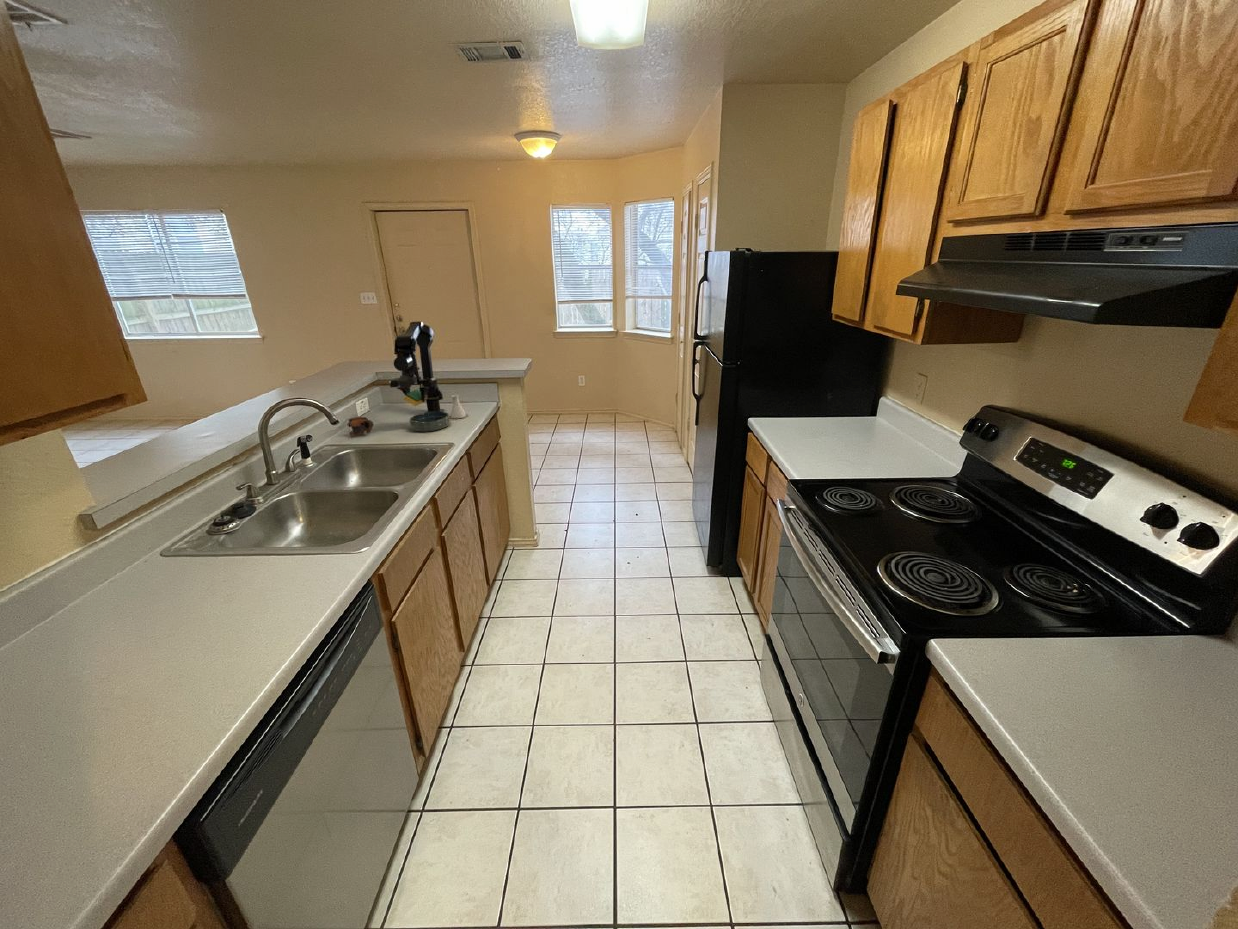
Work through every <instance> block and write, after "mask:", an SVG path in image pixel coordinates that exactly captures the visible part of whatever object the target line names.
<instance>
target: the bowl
mask: <svg viewBox="0 0 1238 929" xmlns="http://www.w3.org/2000/svg"><path fill="white" fill-rule="evenodd" d="M409 424H410V428H411V430H412V431H415V432H423V433H426V432H427V433H429V432H435V431H440V430H443V429H445V428H447V427H449V426H450V425H451V416H450V414H449V412H446V411H442V412H427V411H425V412H422V413H418V414H415V415H413V416H410V418H409Z"/></svg>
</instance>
